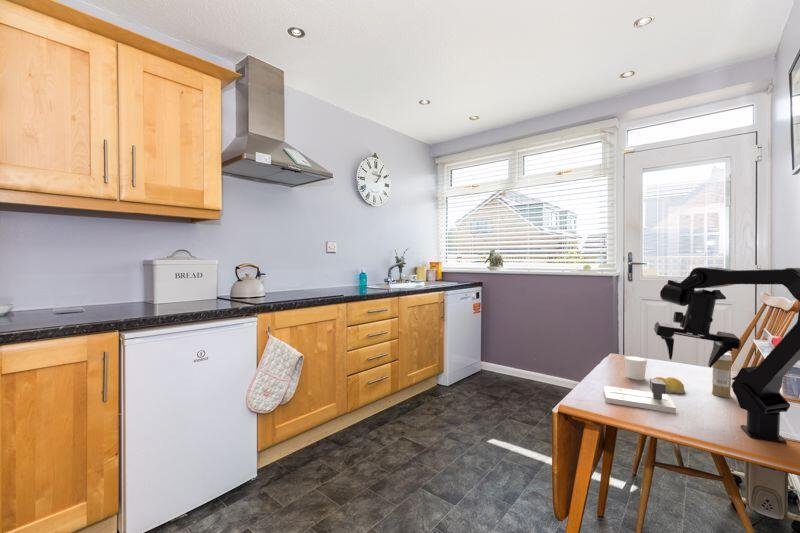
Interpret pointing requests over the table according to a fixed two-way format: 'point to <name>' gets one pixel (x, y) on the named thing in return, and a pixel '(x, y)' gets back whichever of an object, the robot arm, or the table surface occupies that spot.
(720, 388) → the sprinkles bottle
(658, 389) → the fader knob
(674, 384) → the bread roll
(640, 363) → the white cup
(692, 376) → the table surface
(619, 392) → the fader panel
